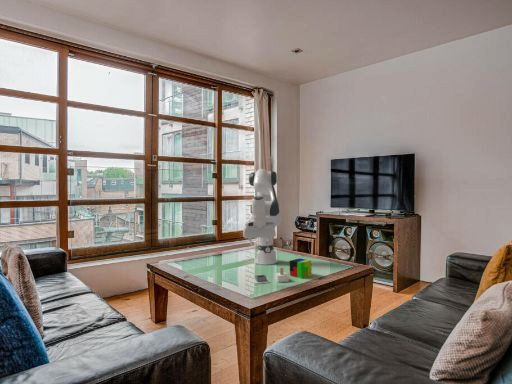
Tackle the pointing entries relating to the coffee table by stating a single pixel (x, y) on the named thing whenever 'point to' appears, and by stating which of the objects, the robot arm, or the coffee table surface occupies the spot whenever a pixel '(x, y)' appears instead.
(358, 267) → the coffee table surface
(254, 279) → the coaster
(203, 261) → the coffee table surface
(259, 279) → the ring
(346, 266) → the coffee table surface
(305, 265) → the puzzle toy
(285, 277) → the peg stand
